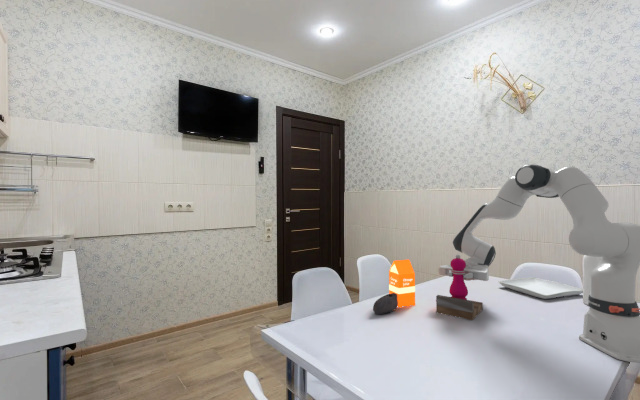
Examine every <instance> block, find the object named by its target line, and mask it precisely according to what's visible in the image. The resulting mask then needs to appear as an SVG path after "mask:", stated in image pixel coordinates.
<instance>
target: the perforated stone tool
mask: <svg viewBox="0 0 640 400" xmlns="http://www.w3.org/2000/svg"><path fill="white" fill-rule="evenodd" d="M397 306H398V301H397V294H395V293H391V294H389V293H387V294H385V295H382V296H381V297H380V298H378V299H376V301H375V302H374V304H373V306H372V309H373V312H374V314H375V315H383V313H384V314H388V313H391V312H393V311H395V310H397V309H398V307H397ZM394 309H395V310H394ZM390 311H391V312H390ZM387 312H388V313H387Z"/></svg>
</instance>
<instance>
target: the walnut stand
mask: <svg viewBox="0 0 640 400" xmlns="http://www.w3.org/2000/svg"><path fill="white" fill-rule="evenodd" d="M435 298H436V307H435V308H436V312H435V313H437V312H438V313H437V314H441V313H442V314H441V315H445V314H446V316H450V315H451V316H450V317H455V316H456V317H455V318H459V317H460V318H461V319H465V320H469V321H473V320H474V319H475V318H476V317H477V316H478V315H479V314H480V313H482V311H483V310H484V309H483V308H484V307H483V306H484V305H483V302H480V301H475V300H469V299H467V300H464V299H459V298H453V297H451V296H445V295H441V294H437V295H436V297H435Z"/></svg>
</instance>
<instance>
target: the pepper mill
mask: <svg viewBox="0 0 640 400" xmlns="http://www.w3.org/2000/svg"><path fill="white" fill-rule="evenodd" d="M464 260H465V259H463V258H461V255H460V254H456V255H455V258H453V259H451V261H450V264H449V265H451V267H452V268H453V269H452V273H453V277H452V281H451V284H450V286H449V294H450V297H453V298H459V299H464V300H468V298H467V296H468V294H469V291H468V287H467V285H466V283H465V280H464V278H463V277H464V276H463V275H464V274H465V270H464V269H465V267H466V263H465V261H464Z"/></svg>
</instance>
